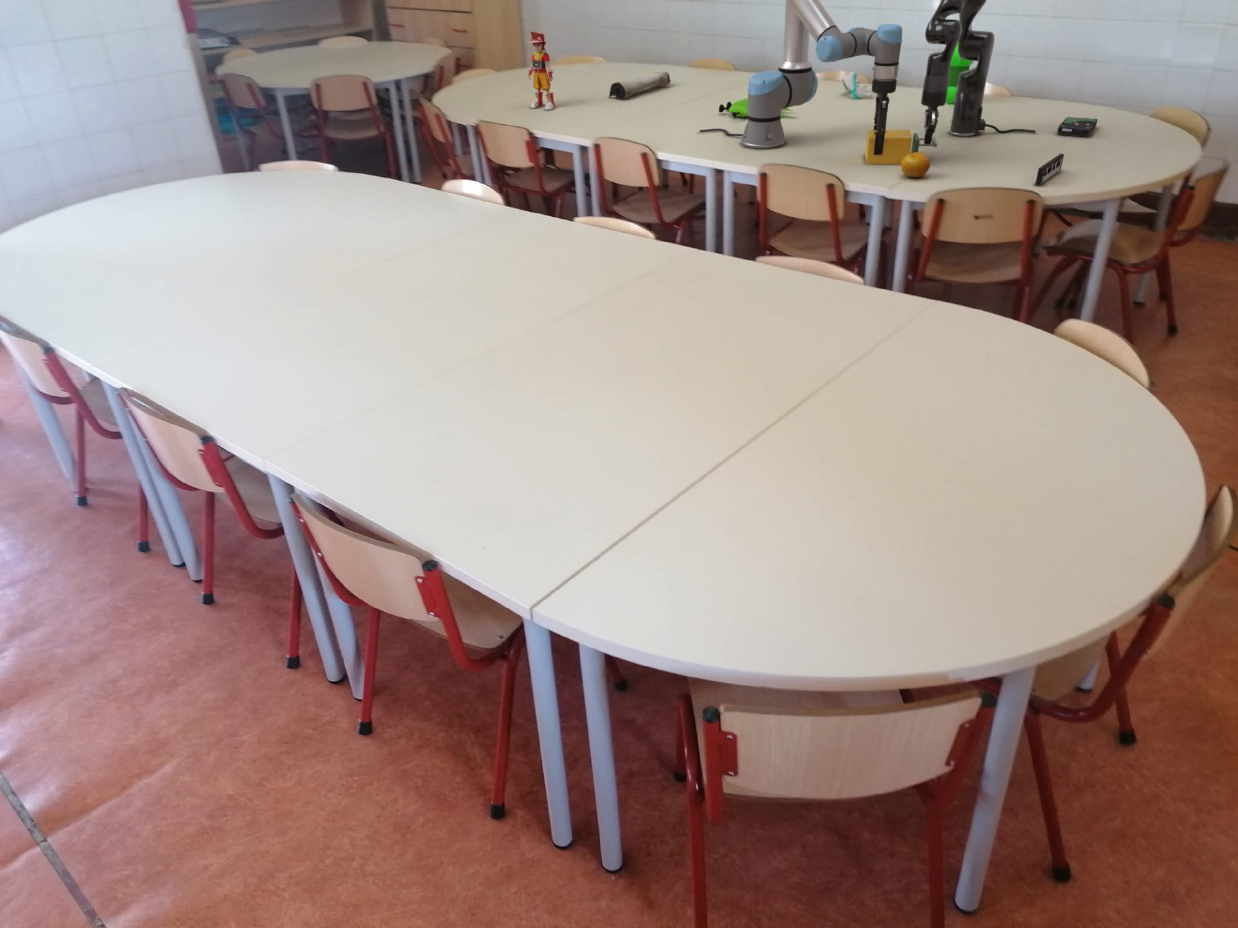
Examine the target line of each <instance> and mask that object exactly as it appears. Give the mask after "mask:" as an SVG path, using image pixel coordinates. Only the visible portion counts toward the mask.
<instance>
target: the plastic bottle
mask: <svg viewBox="0 0 1238 928" xmlns="http://www.w3.org/2000/svg"><path fill="white" fill-rule="evenodd" d="M973 63H974V61H969V60H962V59H960V58H959V55H958V43H957V46H956V48H955V51H954V53H953V56H952V60H951V65H950V72H949V84H948V91H947V98H946V103H948V104H954V103H955V96H956V90H957V83H958V77H959V74H960V73H961V72H963V71H966V70H970V67H971V65H972V64H973Z"/></svg>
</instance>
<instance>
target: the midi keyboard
mask: <svg viewBox="0 0 1238 928" xmlns="http://www.w3.org/2000/svg"><path fill="white" fill-rule="evenodd" d="M1064 157H1065V153H1059V154H1058V155H1056V156H1055V157H1052V159H1051V160H1049V161H1047V162H1045V164H1042V165H1041V166H1039V167H1038V169H1037V175H1036V179H1035V186H1040V185H1042V183H1044V182H1045V181H1047V180H1048V179H1049V178H1051V177H1052V176H1054V175H1055V174H1056V173H1058V172H1060V171H1061V170H1062V165H1063V161H1064Z"/></svg>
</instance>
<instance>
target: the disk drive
mask: <svg viewBox="0 0 1238 928" xmlns="http://www.w3.org/2000/svg"><path fill="white" fill-rule="evenodd" d="M1097 124H1098V118H1089V117H1087V118H1086V117H1073V116H1068V117H1065V118H1064V119H1063V121H1062V122H1061V123H1060V124H1059V126H1058V128H1057V134H1059V135H1065V136H1072V137H1073V136H1075V137H1090V136H1091V134H1092V133H1093V131H1094V130H1095V128H1096V127H1097Z"/></svg>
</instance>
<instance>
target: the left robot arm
mask: <svg viewBox="0 0 1238 928" xmlns="http://www.w3.org/2000/svg"><path fill="white" fill-rule="evenodd" d="M784 10H785V12H784V34H783V52H782V53H783V57H782V60H781V62H780V63H779V65H778V70H776V69H769V70H763V71H759V72H756V73H754V74H753V75H752V76H751V77H750V78H749V79H748V88H747V98H748V117H747V122H746V124H745V127H744V131H743V133H729V132H728V130H727V129H724V128H709V129H699V133H705V132H725V134H726V135H727V136H729V137H730V136H731V137H741V145H742V146H743V147H745V148H749V149H758V150H759V149H760V150H765V149H766V150H767V149H774V148H778V147H782V146H784V145H785V143H786V138H785V137H786V135H785V133H784V128H783V125H782V120H781V119H782V117H781V114H782V110H781V109H784V108H788V109H789V108H792V107H797V106H802V105H803V104H806V103H809V102H810V101H811V100H812V99H813V98H814V97H815V96H816V93H817V90H818V86H819V78H818V76H817V73H816V72H815V70H814V69H813V64H812V62H810V61H809V50H810V36H811V37H812V38H813V40H814V42H815V43H816V44H815V52H816V57H817V60H819V61H820V62H821V63H835V62H838V61H841V60H845V59H851V58H855V57H860V56H869V57H873V58H874V62H873V64H874V65H873V66H874V67H871V71H872V72H873V74H872V78H873V79H872V80H871V81H872V82H871V93H873V94H876V97H875V109H874V110H875V111H874V118H873V130H877V132H875V133H874V135H876V138H875V147H874V155H882V154H883V145H884V136H885V133H886V130H887V119H888V112H889V104H890V97H889V96H888V95H889V94H893V93H895V92H896V90H897V83H898V80H897V78H898V76H899V68H900V56H901V49H902V43H903V26H902V25H900V24H897V23H884V24H880V25H879V26H878V27H877V29H871V28H865V27H862V26H861V27H852V28H850V29H849V30H848V31H846V32H842V31H841V29H840V28H839V27H838V25H837V24H836V22H835V21H834V20H833V19H832V17H831V16H830V14H829V13H828V11H827V10H826V8H825V7H824V6H823V4H822V3H821V1H820V0H785V9H784Z"/></svg>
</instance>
